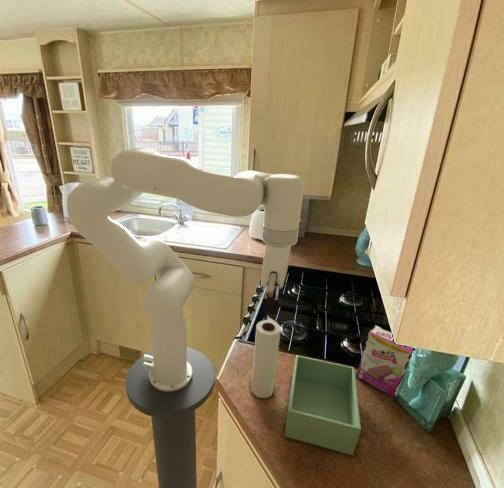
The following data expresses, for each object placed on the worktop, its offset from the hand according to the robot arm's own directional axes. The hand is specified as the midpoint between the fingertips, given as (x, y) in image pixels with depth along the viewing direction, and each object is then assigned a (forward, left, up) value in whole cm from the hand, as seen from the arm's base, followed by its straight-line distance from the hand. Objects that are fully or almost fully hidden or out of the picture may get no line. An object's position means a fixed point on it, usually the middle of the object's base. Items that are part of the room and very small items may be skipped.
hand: (273, 302), depth 74 cm
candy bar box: (+31, +12, -28) cm, 43 cm away
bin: (+15, -3, -28) cm, 32 cm away
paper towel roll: (0, 0, -28) cm, 28 cm away
